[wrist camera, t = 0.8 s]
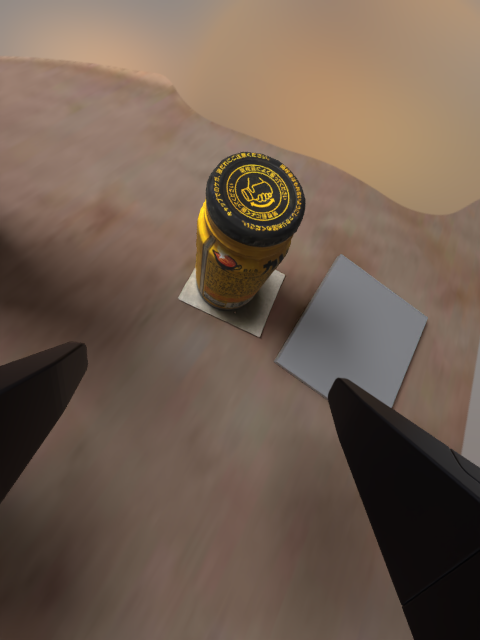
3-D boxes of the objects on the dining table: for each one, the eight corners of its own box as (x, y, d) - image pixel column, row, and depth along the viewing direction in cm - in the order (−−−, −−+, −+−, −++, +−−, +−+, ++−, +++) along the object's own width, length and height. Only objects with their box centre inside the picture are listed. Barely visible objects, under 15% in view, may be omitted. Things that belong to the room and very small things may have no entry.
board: (374, 432, 22) (380, 435, 22) (273, 361, 22) (276, 361, 21) (421, 319, 26) (428, 317, 26) (336, 257, 26) (341, 254, 25)
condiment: (211, 238, 24) (227, 112, 12) (284, 275, 24) (365, 189, 13) (177, 299, 22) (159, 218, 10) (258, 338, 22) (326, 302, 11)
